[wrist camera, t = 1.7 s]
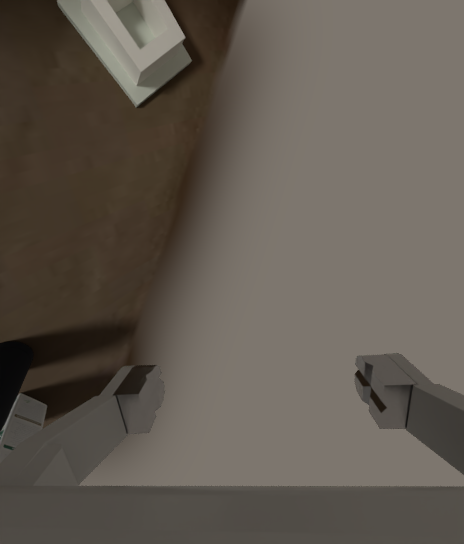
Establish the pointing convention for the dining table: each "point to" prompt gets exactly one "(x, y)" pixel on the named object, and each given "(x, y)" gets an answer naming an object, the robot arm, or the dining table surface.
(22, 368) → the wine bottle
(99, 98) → the dining table surface
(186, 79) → the dining table surface
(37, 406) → the syrup box
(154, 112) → the dining table surface
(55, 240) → the dining table surface
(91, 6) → the white socket base
